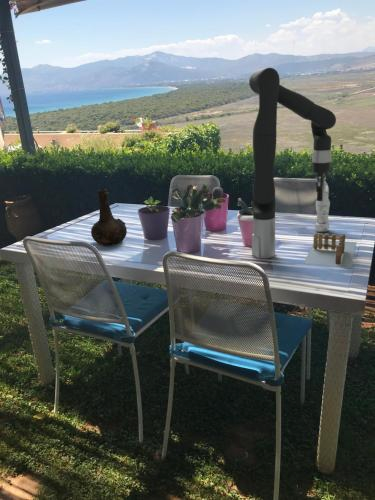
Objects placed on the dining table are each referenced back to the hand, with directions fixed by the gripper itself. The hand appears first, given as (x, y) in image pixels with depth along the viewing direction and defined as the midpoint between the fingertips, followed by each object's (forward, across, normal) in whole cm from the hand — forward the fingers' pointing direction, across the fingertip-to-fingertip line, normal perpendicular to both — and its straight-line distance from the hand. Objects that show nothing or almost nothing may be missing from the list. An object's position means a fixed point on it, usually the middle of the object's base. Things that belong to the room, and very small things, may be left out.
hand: (319, 200), depth 181 cm
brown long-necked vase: (+22, -16, +100) cm, 104 cm away
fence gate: (+20, -7, -5) cm, 22 cm away
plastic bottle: (+21, +20, 0) cm, 29 cm away
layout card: (+21, -9, -7) cm, 24 cm away
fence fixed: (+20, -16, -10) cm, 28 cm away
